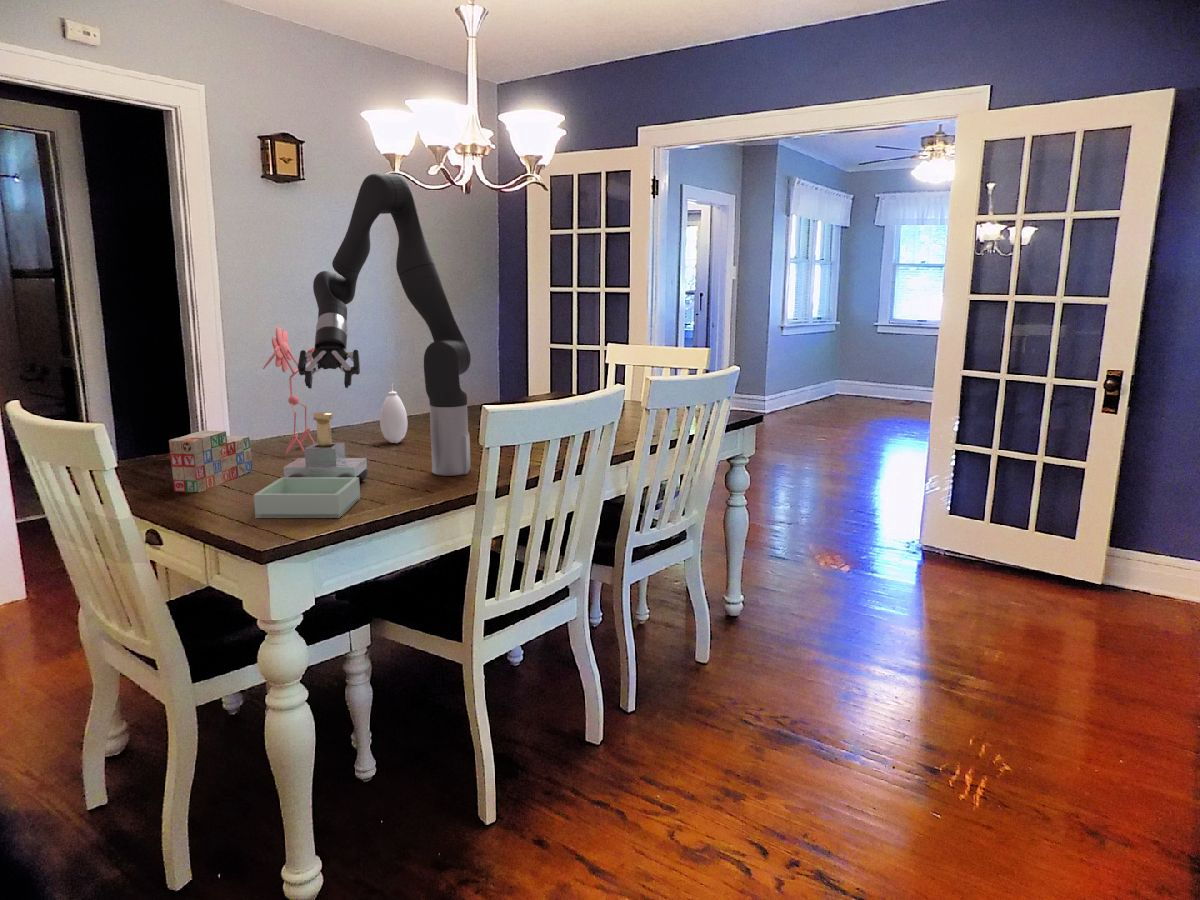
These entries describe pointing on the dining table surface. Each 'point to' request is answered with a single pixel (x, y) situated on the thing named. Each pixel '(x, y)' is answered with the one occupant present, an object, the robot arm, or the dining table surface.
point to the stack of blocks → (208, 459)
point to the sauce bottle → (393, 418)
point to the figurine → (282, 355)
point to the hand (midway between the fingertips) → (328, 386)
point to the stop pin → (323, 428)
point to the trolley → (327, 463)
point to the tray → (307, 497)
